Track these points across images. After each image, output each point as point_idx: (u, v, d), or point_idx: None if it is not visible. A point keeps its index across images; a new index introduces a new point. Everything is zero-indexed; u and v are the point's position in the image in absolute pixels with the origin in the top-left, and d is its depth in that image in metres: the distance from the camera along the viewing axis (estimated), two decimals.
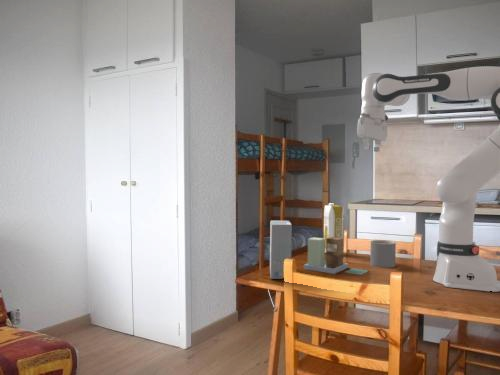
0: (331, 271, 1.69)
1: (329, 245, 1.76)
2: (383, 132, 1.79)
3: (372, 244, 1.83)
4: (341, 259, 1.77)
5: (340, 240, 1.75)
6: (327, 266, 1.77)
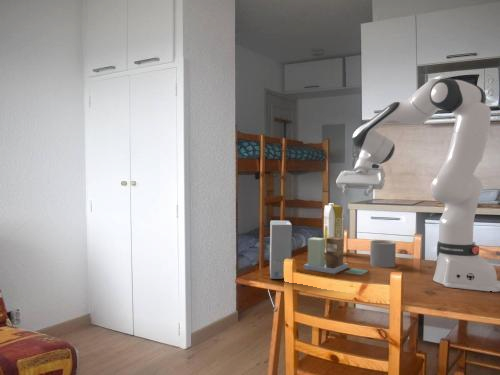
0: (331, 271, 1.69)
1: (329, 245, 1.76)
2: (374, 178, 1.84)
3: (372, 244, 1.83)
4: (341, 259, 1.77)
5: (340, 240, 1.75)
6: (327, 266, 1.77)
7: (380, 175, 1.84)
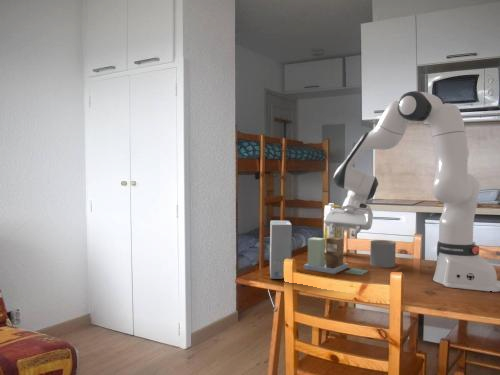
0: (331, 271, 1.69)
1: (329, 245, 1.76)
2: (362, 218, 1.83)
3: (372, 244, 1.83)
4: (341, 259, 1.77)
5: (340, 240, 1.75)
6: (327, 266, 1.77)
7: (367, 215, 1.82)
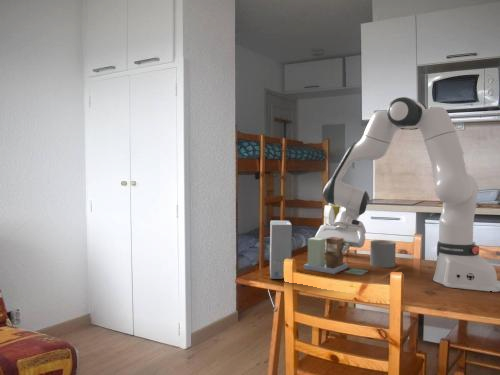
0: (331, 271, 1.69)
1: (329, 245, 1.76)
2: (354, 235, 1.76)
3: (372, 244, 1.83)
4: (341, 259, 1.77)
5: (340, 240, 1.75)
6: (327, 266, 1.77)
7: (360, 233, 1.75)
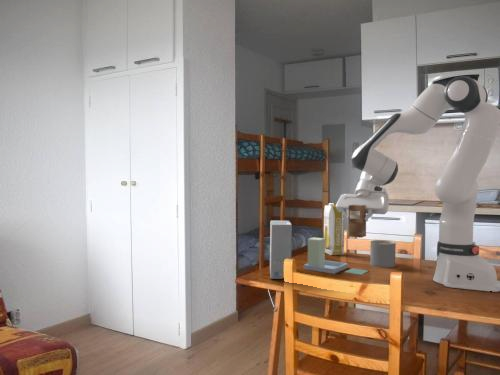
0: (331, 271, 1.69)
1: (352, 212, 1.69)
2: (377, 202, 1.70)
3: (372, 244, 1.83)
4: (364, 227, 1.70)
5: (363, 207, 1.69)
6: (350, 234, 1.70)
7: (383, 199, 1.69)
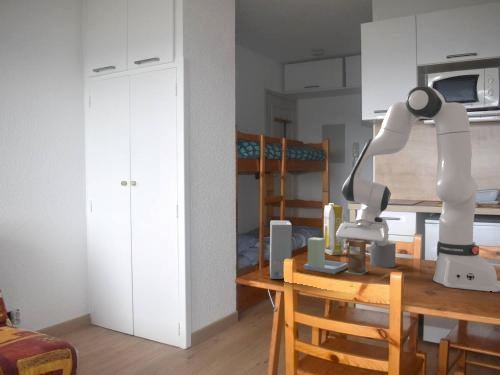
0: (331, 271, 1.69)
1: (352, 248, 1.70)
2: (377, 233, 1.70)
3: None
4: (364, 262, 1.71)
5: (363, 242, 1.70)
6: (349, 269, 1.71)
7: (383, 230, 1.69)
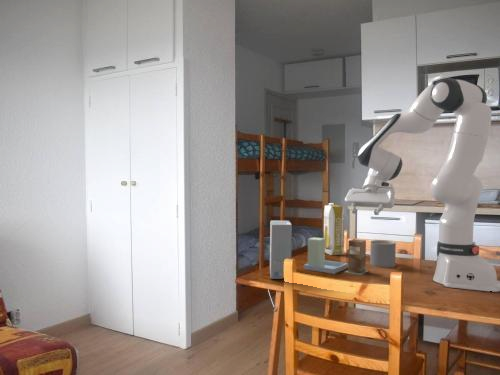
0: (331, 271, 1.69)
1: (352, 248, 1.70)
2: (384, 196, 1.80)
3: (372, 244, 1.83)
4: (364, 262, 1.71)
5: (363, 242, 1.70)
6: (349, 269, 1.71)
7: (390, 193, 1.80)
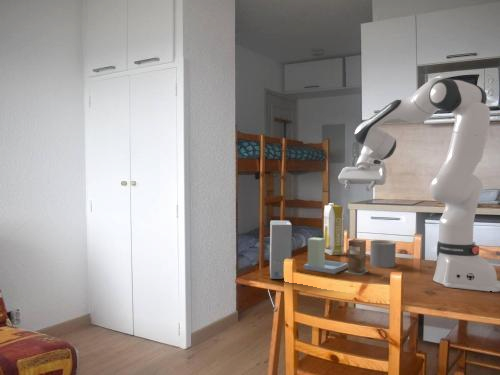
0: (331, 271, 1.69)
1: (352, 248, 1.70)
2: (376, 173, 1.86)
3: (372, 244, 1.83)
4: (364, 262, 1.71)
5: (363, 242, 1.70)
6: (349, 269, 1.71)
7: (382, 171, 1.85)
